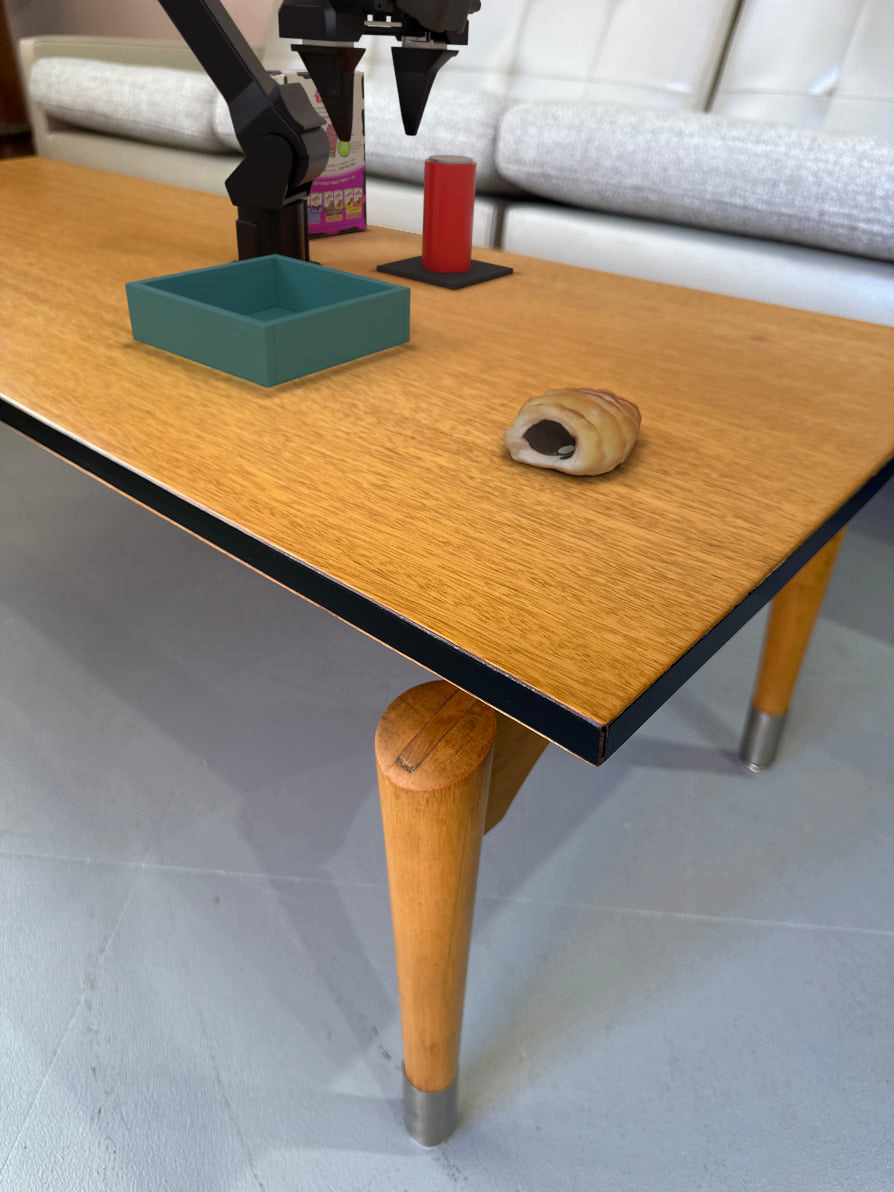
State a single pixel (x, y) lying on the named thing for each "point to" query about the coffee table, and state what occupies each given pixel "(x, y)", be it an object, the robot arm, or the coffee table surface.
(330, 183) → the candy bar box
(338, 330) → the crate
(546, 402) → the pastry
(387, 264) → the mat
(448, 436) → the coffee table surface
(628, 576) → the coffee table surface
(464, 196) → the can
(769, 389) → the coffee table surface
